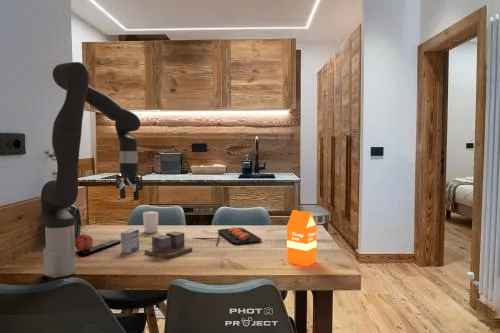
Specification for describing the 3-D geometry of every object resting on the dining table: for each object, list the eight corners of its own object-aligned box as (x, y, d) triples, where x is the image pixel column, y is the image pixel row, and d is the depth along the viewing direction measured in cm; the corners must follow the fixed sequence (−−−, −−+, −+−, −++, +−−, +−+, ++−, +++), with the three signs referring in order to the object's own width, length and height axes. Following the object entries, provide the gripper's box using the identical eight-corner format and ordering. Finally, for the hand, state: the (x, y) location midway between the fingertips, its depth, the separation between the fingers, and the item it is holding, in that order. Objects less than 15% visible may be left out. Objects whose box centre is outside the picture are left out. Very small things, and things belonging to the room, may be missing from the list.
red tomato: (72, 255, 166) (73, 246, 159) (74, 240, 170) (75, 230, 163) (91, 255, 169) (93, 246, 162) (92, 240, 173) (94, 230, 166)
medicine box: (130, 253, 162) (130, 233, 161) (120, 252, 163) (120, 232, 162) (139, 248, 170) (139, 229, 169) (130, 247, 171) (129, 228, 170)
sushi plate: (263, 243, 179) (263, 235, 179) (200, 250, 168) (200, 241, 168) (241, 230, 206) (241, 223, 206) (186, 235, 195) (186, 228, 195)
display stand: (192, 251, 165) (192, 233, 165) (168, 259, 154) (168, 240, 153) (168, 246, 173) (168, 229, 173) (144, 253, 161) (144, 236, 161)
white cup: (140, 232, 200) (139, 213, 199) (148, 229, 207) (148, 211, 207) (153, 233, 197) (153, 214, 197) (161, 230, 205) (161, 211, 204)
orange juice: (297, 257, 156) (297, 208, 155) (316, 261, 151) (317, 211, 149) (286, 262, 150) (286, 211, 149) (306, 266, 145) (306, 214, 143)
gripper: (110, 161, 165) (111, 199, 166) (132, 162, 157) (133, 202, 158) (124, 161, 171) (125, 197, 172) (146, 161, 163) (147, 199, 164)
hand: (129, 199), depth 165 cm, fingers open, 8 cm apart
